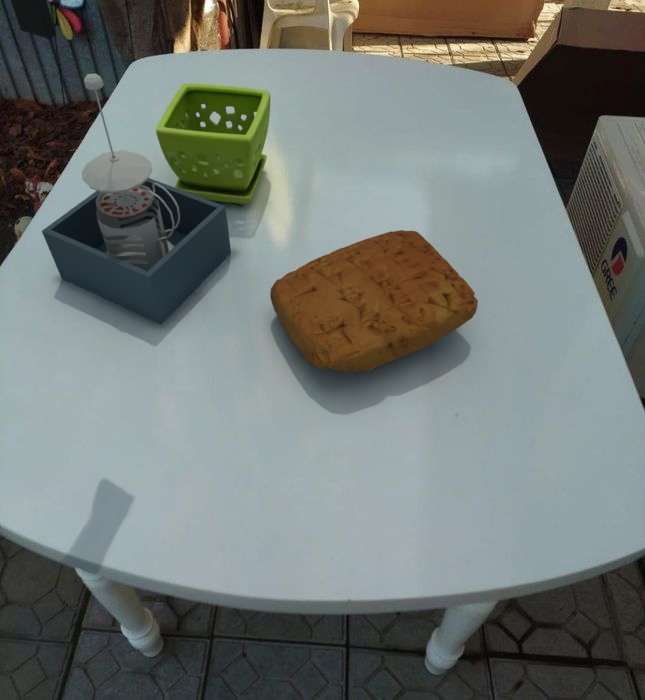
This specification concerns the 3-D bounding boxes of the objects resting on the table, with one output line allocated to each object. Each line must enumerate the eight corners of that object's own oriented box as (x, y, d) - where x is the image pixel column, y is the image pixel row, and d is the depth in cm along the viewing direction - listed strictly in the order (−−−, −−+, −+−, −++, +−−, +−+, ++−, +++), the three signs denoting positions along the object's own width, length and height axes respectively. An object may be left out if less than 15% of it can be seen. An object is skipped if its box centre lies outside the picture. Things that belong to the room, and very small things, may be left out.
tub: (61, 278, 78) (41, 230, 72) (138, 216, 87) (125, 169, 81) (161, 324, 73) (148, 277, 67) (231, 253, 82) (225, 206, 76)
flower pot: (194, 155, 98) (182, 79, 88) (275, 165, 97) (273, 89, 87) (167, 205, 89) (151, 127, 79) (257, 216, 88) (252, 138, 78)
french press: (125, 230, 83) (74, 48, 64) (201, 246, 82) (171, 64, 63) (90, 275, 77) (21, 88, 58) (171, 293, 76) (128, 107, 56)
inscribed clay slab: (407, 260, 83) (416, 214, 76) (479, 344, 73) (495, 298, 67) (261, 307, 76) (258, 260, 70) (319, 406, 66) (321, 362, 60)
